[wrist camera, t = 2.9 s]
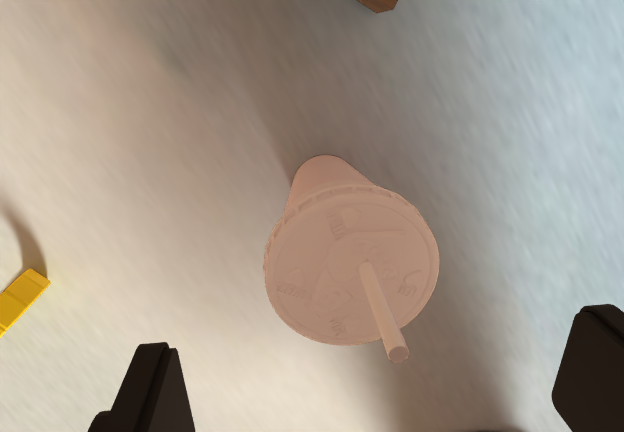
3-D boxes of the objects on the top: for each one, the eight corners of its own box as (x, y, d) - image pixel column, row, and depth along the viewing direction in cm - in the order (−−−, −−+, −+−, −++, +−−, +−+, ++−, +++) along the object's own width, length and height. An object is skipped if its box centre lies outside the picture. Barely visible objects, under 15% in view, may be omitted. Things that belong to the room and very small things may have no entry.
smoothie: (402, 185, 24) (549, 359, 11) (322, 256, 25) (369, 482, 12) (326, 105, 22) (399, 203, 9) (244, 187, 23) (203, 376, 10)
